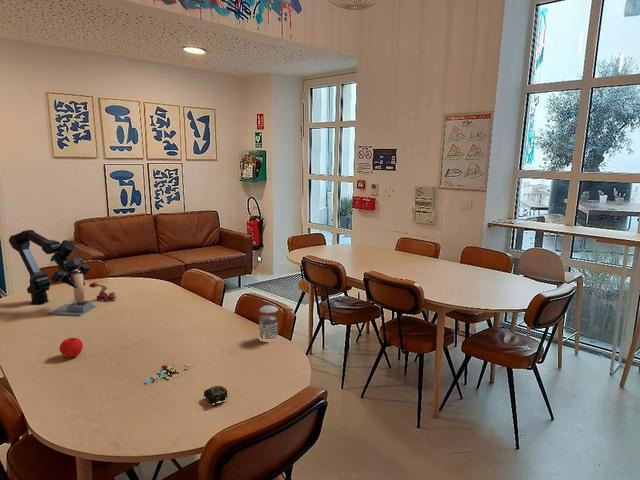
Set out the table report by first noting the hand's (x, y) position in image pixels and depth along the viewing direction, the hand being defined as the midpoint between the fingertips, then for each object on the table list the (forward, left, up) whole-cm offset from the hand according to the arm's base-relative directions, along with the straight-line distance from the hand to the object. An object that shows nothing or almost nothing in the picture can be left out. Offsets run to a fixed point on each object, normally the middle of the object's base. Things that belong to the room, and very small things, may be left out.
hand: (80, 286), depth 217 cm
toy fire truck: (+1, +19, -14) cm, 24 cm away
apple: (+25, -50, -14) cm, 57 cm away
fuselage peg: (-1, 0, -7) cm, 7 cm away
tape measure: (+89, -77, -14) cm, 118 cm away
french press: (+98, -25, -14) cm, 102 cm away
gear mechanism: (+68, -59, -14) cm, 91 cm away
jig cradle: (-5, 0, -13) cm, 14 cm away
